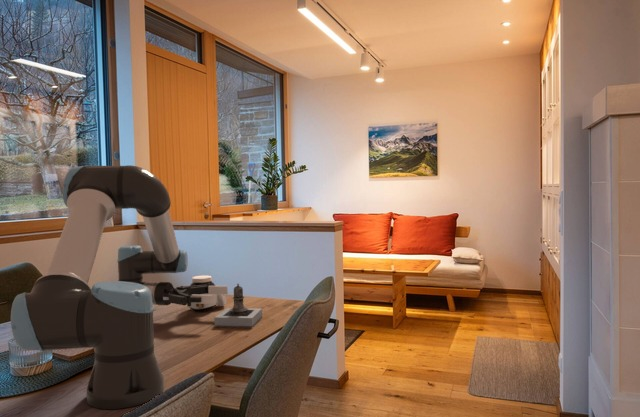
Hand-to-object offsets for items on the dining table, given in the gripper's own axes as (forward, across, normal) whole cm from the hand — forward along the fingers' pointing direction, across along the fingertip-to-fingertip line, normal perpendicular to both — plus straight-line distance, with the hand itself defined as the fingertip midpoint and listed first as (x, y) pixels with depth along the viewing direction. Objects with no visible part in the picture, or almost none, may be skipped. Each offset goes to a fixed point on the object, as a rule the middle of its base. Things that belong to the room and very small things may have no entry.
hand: (220, 294), depth 159 cm
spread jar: (-11, -17, -9) cm, 22 cm away
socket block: (+6, 0, -9) cm, 11 cm away
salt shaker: (+6, 0, -8) cm, 10 cm away
